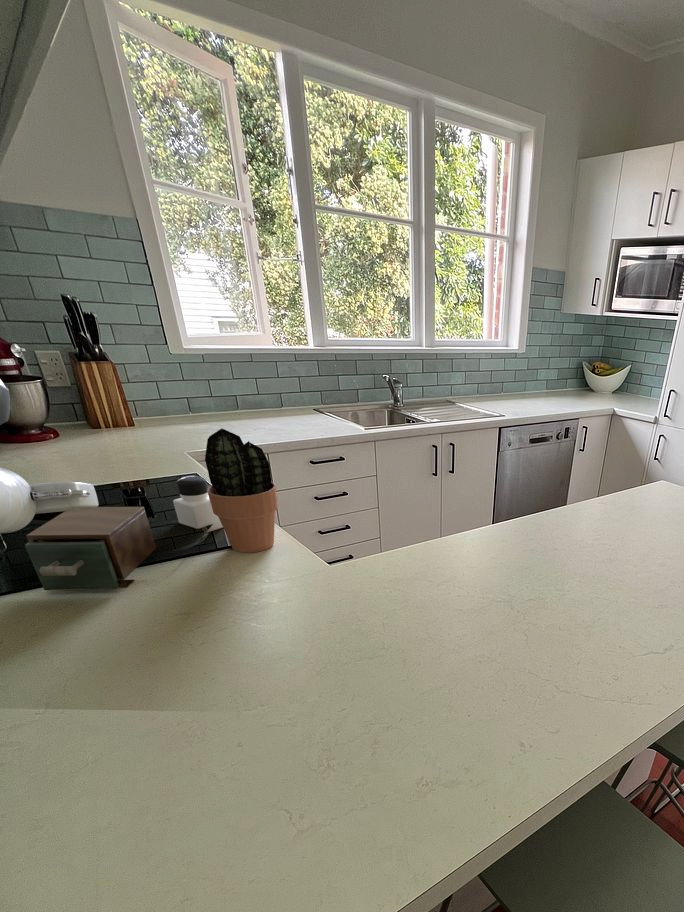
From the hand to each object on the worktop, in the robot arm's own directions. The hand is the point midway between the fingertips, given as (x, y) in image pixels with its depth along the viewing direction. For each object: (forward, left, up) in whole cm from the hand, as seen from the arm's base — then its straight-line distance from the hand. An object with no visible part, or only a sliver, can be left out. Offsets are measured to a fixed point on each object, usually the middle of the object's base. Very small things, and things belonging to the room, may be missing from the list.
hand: (32, 503), depth 85 cm
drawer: (-2, +12, -18) cm, 22 cm away
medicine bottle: (+9, +41, -19) cm, 46 cm away
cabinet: (-2, +17, -19) cm, 25 cm away
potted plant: (+23, +29, -19) cm, 42 cm away
